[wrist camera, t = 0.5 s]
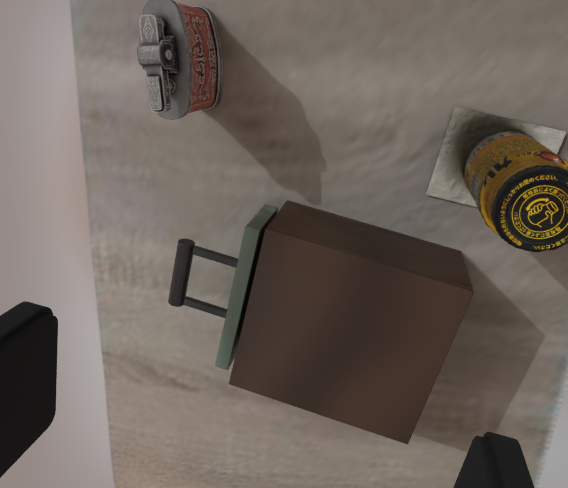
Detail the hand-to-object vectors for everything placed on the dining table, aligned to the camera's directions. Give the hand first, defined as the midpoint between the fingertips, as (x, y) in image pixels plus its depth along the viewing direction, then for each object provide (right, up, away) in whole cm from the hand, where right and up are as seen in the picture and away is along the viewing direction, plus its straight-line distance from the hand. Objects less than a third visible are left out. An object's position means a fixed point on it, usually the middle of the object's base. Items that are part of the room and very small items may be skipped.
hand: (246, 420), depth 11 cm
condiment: (+17, +10, +30) cm, 36 cm away
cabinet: (+7, -1, +36) cm, 37 cm away
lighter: (-6, +19, +32) cm, 37 cm away
